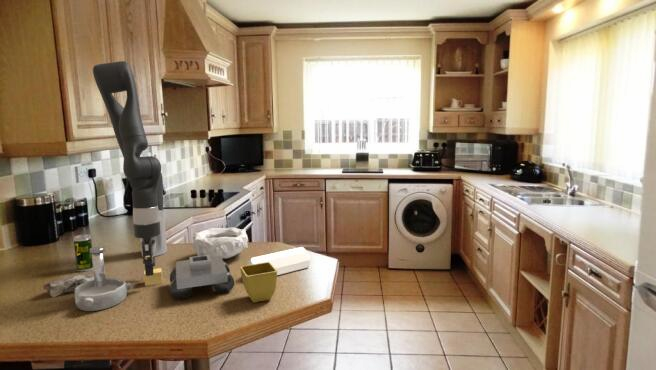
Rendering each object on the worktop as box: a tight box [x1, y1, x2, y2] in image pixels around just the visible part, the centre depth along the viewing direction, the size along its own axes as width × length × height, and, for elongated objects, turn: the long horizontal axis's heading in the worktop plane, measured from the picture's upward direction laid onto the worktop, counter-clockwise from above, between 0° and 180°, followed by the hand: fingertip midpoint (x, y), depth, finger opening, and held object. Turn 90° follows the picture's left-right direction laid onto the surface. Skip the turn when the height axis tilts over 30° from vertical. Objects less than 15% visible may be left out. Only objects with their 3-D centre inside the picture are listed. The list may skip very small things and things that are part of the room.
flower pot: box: [239, 262, 278, 304], centre depth 117 cm, size 9×9×9 cm
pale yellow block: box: [143, 267, 163, 287], centre depth 131 cm, size 4×5×4 cm
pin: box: [90, 246, 107, 287], centre depth 116 cm, size 4×4×11 cm
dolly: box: [169, 255, 235, 301], centre depth 125 cm, size 16×18×10 cm
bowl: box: [192, 226, 250, 260], centre depth 154 cm, size 21×20×10 cm
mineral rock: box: [43, 274, 94, 298], centre depth 126 cm, size 15×8×4 cm, turn 120°
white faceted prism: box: [245, 246, 311, 276], centre depth 138 cm, size 7×7×24 cm
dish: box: [73, 277, 132, 312], centre depth 118 cm, size 14×14×5 cm
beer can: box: [73, 233, 93, 273], centre depth 143 cm, size 5×5×12 cm
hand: (150, 270), depth 130 cm, fingers open, 8 cm apart
